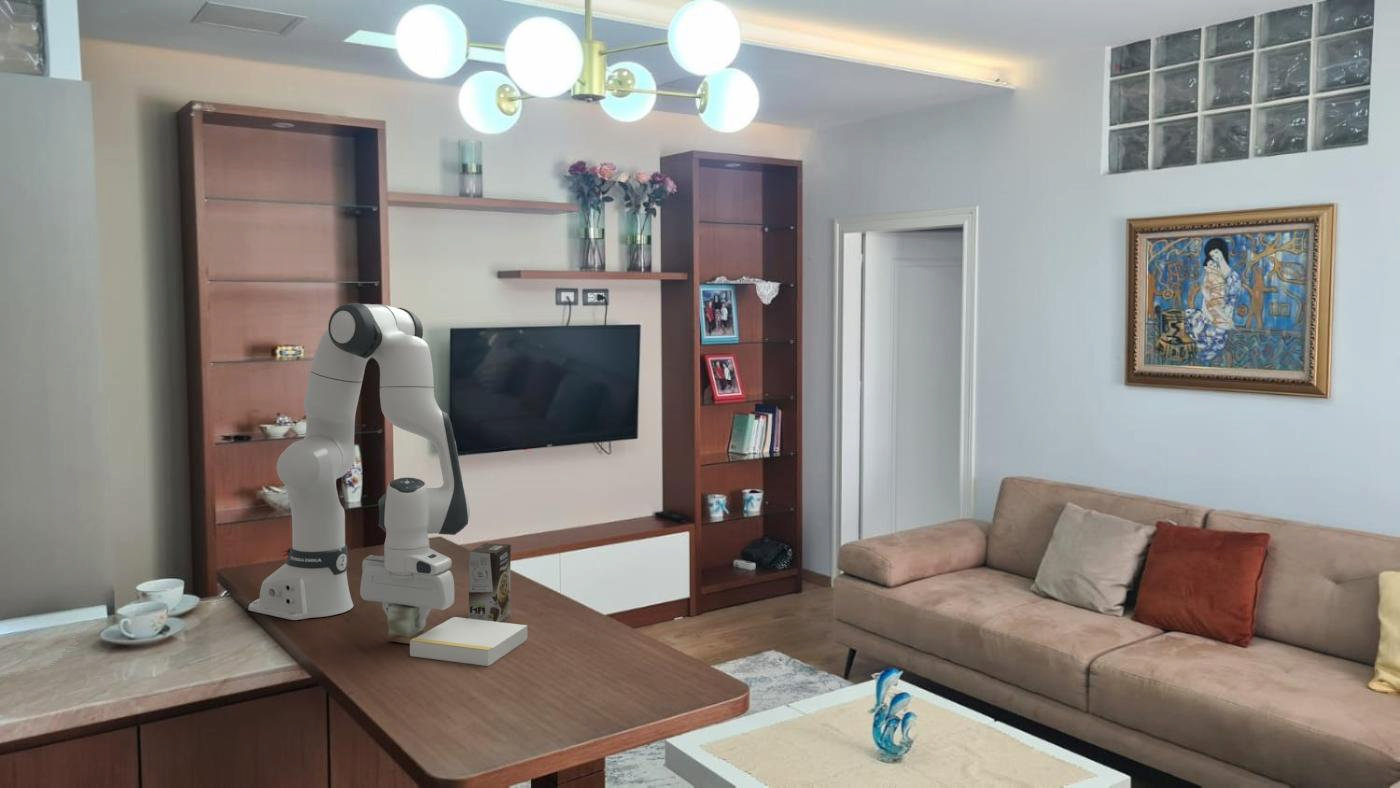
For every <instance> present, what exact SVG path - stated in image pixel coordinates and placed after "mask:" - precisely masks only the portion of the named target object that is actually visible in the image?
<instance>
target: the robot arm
mask: <svg viewBox="0 0 1400 788" xmlns="http://www.w3.org/2000/svg"><path fill="white" fill-rule="evenodd" d="M423 335H424V328H423V324H422V322H421V319H420V318H419V317H418V316H417V315H416V314H415V313H414V312H412V311H410V310H408V309H407V308H403V307H394V306H391V305H387V304H382V303H381V304H380V303H375V304H371V303H361V302H360V303H359V302H352V303H345V304H343V305H340V306H338V307H337V308H336V309H335V310H333V312H332V314H331V315H330V317H329V320H328V328H327V329H326V330H325V331H324V332H323V334H322V336H321V338H320V340H319V343H318V346H316V350H315V352H314V356H313V360H312V363H311V367H310V372H309V377H308V381H307V386H306V391H305V395H304V400H303V409H304V411H305V418H306V420H305V423H306V426H305V428H306V430H305V435H304V437H303V439H300V440H297V441H295V442H291V444H290V445H288V446H287V448H285V449H284V451H283V452H282V453H281V454H280V455H279V456H278V459H277V461H276V462H277V463H276V472H277V475H278V478H279V480H280V482H282V484H283V485H284V486H285V491H286V493H287V498H288V501H289V506H290V512H291V521H292V522H291V528H292V529H291V531H292V533H291V534H292V546H290V547H289V548H288V549H285V550H283V551H281V553H283V554H282V555H281V557H285V556H287V557H286V560H285V563H284V564H282V565H281V566H280V567H279V568H277V569H276V570H275V571H274V572H272V573H271V574H270V575H269V576H267V577H266V578H265V579H264V580H263V581H262V583H261V586H260V592H259V598H257V599H255V600H253V601H252V602H250V603H249V605H248V611H251V612H253V613H259V614H263V615H267V616H272V617H276V618H277V617H278V618H280V619H281V618H282V619H286V620H290V621H298V620H305V619H310V618H311V619H312V618H313V619H314V618H323V617H330V616H335V615H338V614H343V613H346V612H348V611H350V610H351V609H353V607H354V603H353V600H352V596H351V593H350V588H349V583H348V582H349V580H348V575H347V574H348V573H347V567H348V545H347V544H346V514H345V513H346V512H345V509H344V506H342V503H341V501H340V498H339V494H338V488H337V480H338V479H340V478H342V477H344V476H345V475H346V474H347V473H348V472H349V471H350V469H351V468H352V467H353V465H354V463H355V462H356V458H357V449H356V446H355V428H356V427H355V426H356V425H355V424H356V413H357V408H358V403H359V398H360V395H361V390H362V384H363V381H364V375H365V371H366V370H365V369H366V366H367V363H368V361H369V360H370V359H371V358H373V359H374V360H375V361H376V362H377V365H378V367H379V399H380V402H379V403H380V409H381V412H382V414H383V416H384V418H385V419H386V421H387V422H388V421H389V423H390V424H392V425H394V426H395V427H396V428H399V429H400V430H404V431H405V432H409V433H411V434H414V435H417V436H419V437H422V438H424V439H426V440H428V441H430V442H431V444H433V445H434V446H435V449H436V450H437V453H438V458H439V464H440V469H441V476H442V480H443V481H442V482H443V484H442V486H440V487H427V484H426V482H425V481H423V480H422V479H419V478H417V477H399V478H396V479H393V480H392V481H390V482H389V483H388V484H387V485H388V486H387V489H386V492H385V493H384V494H383V495H382V496H381V497H380V498H379V500H378V503H377V504H378V516H379V517H378V527H379V528H381V529H382V531H384V532H385V533H386V534H385V536H386V537H385V541H384V547H383V548H384V549H383V550H384V551H383V553H384V555H375V554H369V555H368V556H367V557H365V558H364V559H363V560H362V563H361V566H362V567H361V569H362V570H361V571H362V574H361V577H360V578H361V579H360V587H359V595H360V596H361V598H362V599H363V601H370V602H377V603H378V602H379V603H382V609H383V612H384V613H385V615H386V617H388V607H390V606H392V605H394V604H400V605H408V606H416V607H420V612H422V614H421V616H420V617H419V618H417V619H415V623H416V624H415V627H417V628H423V629H424V628H425V627H426V625H427V618H428V616H429V614H430V612H431V611H432V610H439V611H440V610H441V611H444V610H446V609H448V608H450V607H451V606H452V605H453V604H454V603H455V581H454V577H453V573H452V572H451V570H449V569H450V568H451V567H452V563H453V561H452V559H451V558H450V557H449V556H446V555H445V554H443V553H439V551H436V550H434V549H432V548H431V547H430V539H429V536H428V534H431V535H433V534H438V535H445V536H446V535H447V536H448V535H450V536H455V535H457V534H458V533H459V532H461V531H462V530H464V529H465V527H466V526H467V525H468V524H469V519H470V515H471V510H470V509H471V508H470V503H469V499H468V497H467V493H466V491H465V488H464V483H463V477H462V470H461V465H460V460H459V453H458V449H457V448H458V447H457V443H456V439H455V435H454V429H453V425H452V422H451V419H450V417H449V414H448V413H447V412H445V411H443V410H441V408H440V407H439V405H438V402H437V400H436V396H435V392H434V391H435V388H434V387H435V384H434V383H435V382H434V381H435V380H434V378H435V377H434V369H433V361H432V355H431V351H430V346H429V345H428V343H427V342H426V340H424V339H423Z"/></svg>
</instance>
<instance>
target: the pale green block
mask: <svg viewBox="0 0 1400 788" xmlns="http://www.w3.org/2000/svg"><path fill="white" fill-rule="evenodd" d="M421 614H422V612H420V607H416V606H408V605H400V604H394V605H392V606H390V607H388V616H387V624H388V637H387V638H388V642H394V643H395V642H396V643H401V644H408V645H410V640H411V639H413V638H416V637H418V636H420V635H422V634H424V627H423V628H417V627H415V624H416V623H415V619H417V618H419V617H420V616H421Z"/></svg>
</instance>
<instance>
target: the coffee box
mask: <svg viewBox="0 0 1400 788" xmlns="http://www.w3.org/2000/svg"><path fill="white" fill-rule="evenodd" d="M511 546H512V545H511V543H510V544H507V543H486V542H484V543H482V544H481V545H479V546H477V547H475V548H473V549H472V550H470V551H468V552H469V553H468V556H469V557H468V619H477V620H485V621H494V622H503V621H504V620H506V619H507V618H508V617H510V616H511V566H512V565H511V562H512V561H511V554H512V553H511Z"/></svg>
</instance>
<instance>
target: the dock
mask: <svg viewBox="0 0 1400 788" xmlns="http://www.w3.org/2000/svg"><path fill="white" fill-rule="evenodd" d="M527 640H528V625H527V624H518V623H510V622H503V621H501V622H494V621H485V620H477V619H469V617H468V618H466V617H459V616H458V617H457V616H453V617H451V618H449V619H447V620H446V621H444V622H442V623H440V624H438V625H436V626H434V627H433V628H430V629H429V630H427V631H426V632H423V634H422V635H420V636H418V637H416V638H413V639H411V640H410V644H409V656H410V657H416V658H422V659H432V660H439V661H445V662H453V663H461V664H468V665H475V666H476V665H477V666H483V667H486V666H487V667H489V666H491V665H492V664H494V663H495V662H496V661H498V660H500V659H501V658H502V657H504V656H505V655H507V654H509V653H511V651H513V650H514V649H516V648H517V647H519V646H520V645H522V644H523V643H524V642H526V641H527Z"/></svg>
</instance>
